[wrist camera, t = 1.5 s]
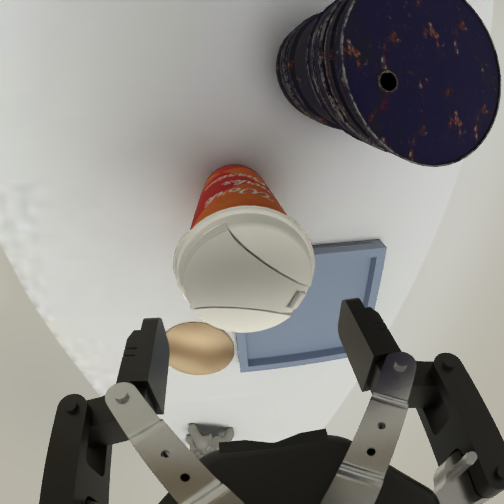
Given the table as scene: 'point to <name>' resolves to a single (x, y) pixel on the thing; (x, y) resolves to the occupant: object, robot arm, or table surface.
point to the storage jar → (396, 75)
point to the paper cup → (243, 255)
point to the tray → (318, 309)
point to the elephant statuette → (206, 441)
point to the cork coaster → (199, 348)
